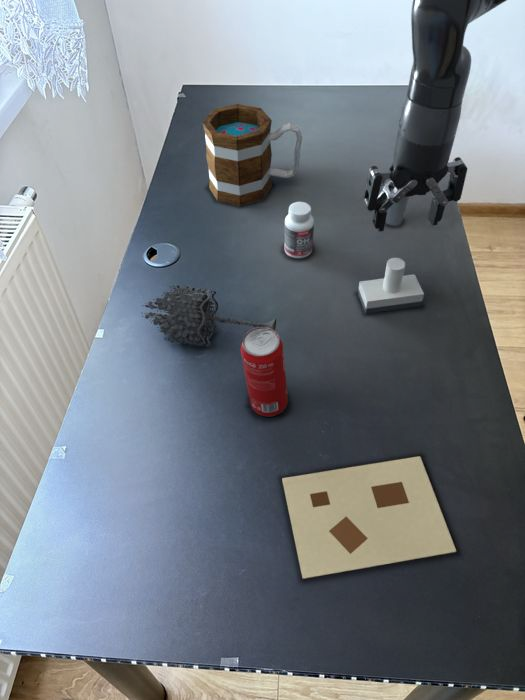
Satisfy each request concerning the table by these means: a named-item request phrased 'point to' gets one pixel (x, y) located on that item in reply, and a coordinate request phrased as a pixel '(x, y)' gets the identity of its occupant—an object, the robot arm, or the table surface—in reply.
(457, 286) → the table surface
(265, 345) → the beverage can
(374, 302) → the scrub brush
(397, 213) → the milkshake
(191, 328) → the dark grey model tree
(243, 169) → the mug
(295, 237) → the pill bottle
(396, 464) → the stain mat
